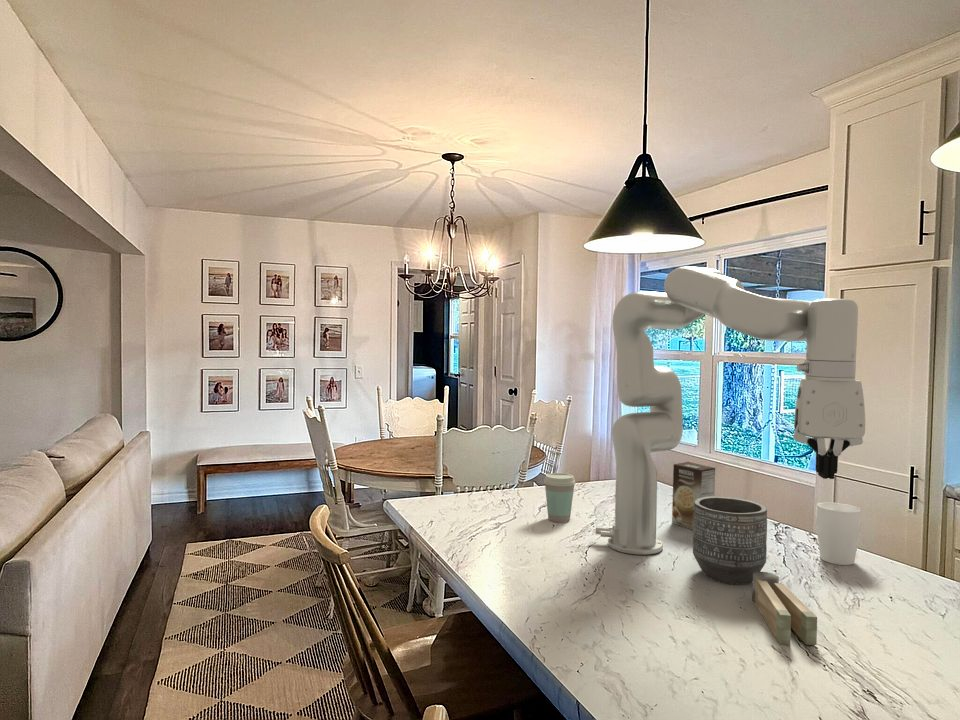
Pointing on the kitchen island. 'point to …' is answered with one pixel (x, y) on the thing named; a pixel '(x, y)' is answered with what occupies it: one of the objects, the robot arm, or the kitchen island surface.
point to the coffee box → (690, 490)
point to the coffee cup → (559, 496)
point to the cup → (838, 532)
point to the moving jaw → (798, 615)
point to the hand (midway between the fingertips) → (826, 477)
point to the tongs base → (771, 606)
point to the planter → (729, 538)
